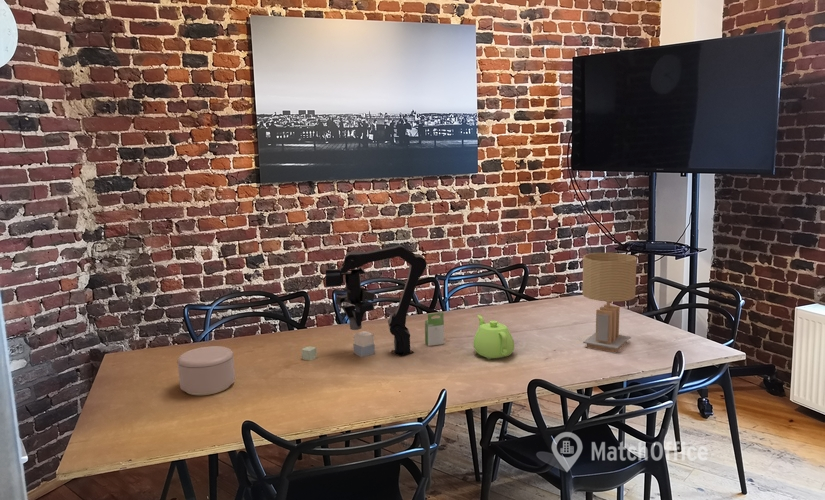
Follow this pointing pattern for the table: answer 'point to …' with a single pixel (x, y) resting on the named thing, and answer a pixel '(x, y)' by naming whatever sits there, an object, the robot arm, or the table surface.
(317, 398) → the table surface
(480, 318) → the teapot
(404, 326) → the robot arm
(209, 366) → the container
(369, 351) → the tower base
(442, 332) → the ink box
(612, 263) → the desk lamp
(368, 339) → the tower top
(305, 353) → the sage block
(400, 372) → the table surface
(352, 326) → the dark grey cylinder
